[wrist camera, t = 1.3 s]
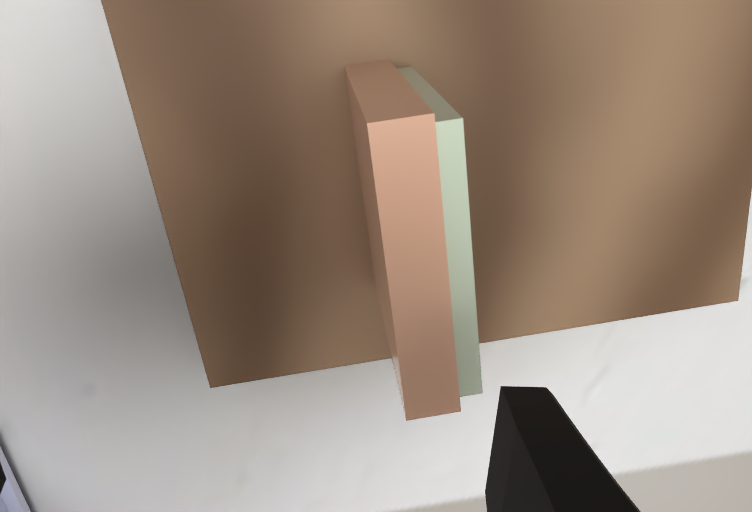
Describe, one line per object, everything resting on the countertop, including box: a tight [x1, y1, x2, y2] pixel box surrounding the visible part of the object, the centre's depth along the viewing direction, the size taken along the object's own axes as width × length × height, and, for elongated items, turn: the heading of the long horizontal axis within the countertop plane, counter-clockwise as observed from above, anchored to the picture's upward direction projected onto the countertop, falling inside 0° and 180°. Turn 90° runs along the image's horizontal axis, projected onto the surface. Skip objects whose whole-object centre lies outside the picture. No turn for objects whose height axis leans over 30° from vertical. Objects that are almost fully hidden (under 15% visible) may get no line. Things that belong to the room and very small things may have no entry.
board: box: [101, 0, 752, 388], centre depth 18 cm, size 16×11×1 cm
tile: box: [344, 60, 482, 421], centre depth 15 cm, size 2×6×6 cm, turn 7°
